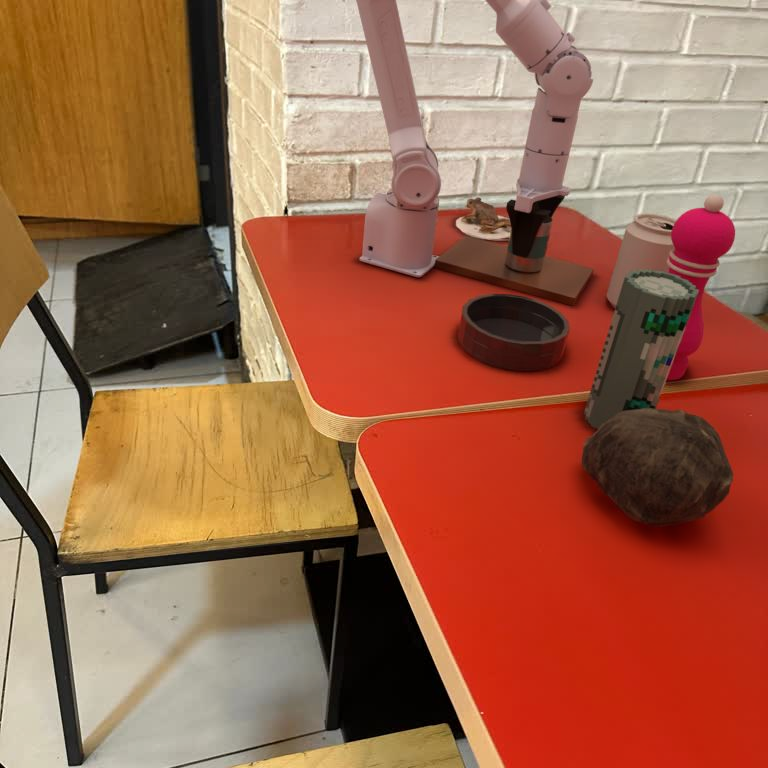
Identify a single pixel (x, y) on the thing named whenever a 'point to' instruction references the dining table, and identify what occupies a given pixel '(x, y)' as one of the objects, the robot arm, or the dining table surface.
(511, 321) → the pan
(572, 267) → the board
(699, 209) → the pepper mill
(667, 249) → the can
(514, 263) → the tin can
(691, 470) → the rock
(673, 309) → the can
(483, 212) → the frog figurine
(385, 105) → the robot arm
